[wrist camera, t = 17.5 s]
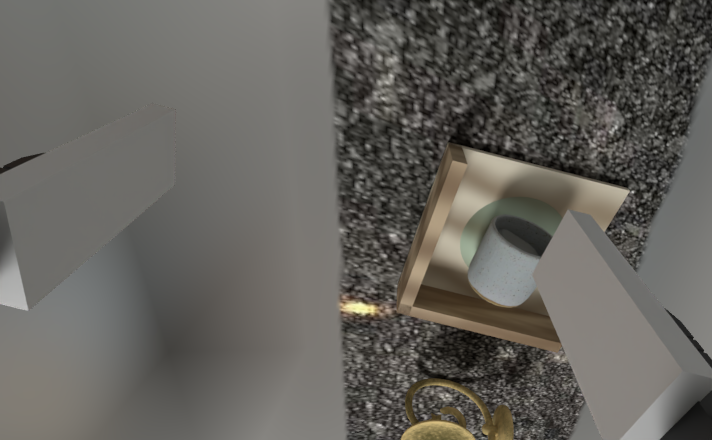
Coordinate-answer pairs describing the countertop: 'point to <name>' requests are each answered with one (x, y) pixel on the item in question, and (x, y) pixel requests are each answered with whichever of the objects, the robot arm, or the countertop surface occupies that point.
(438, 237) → the tray
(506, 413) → the wall sconce
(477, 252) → the ceramic mug
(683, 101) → the countertop surface
